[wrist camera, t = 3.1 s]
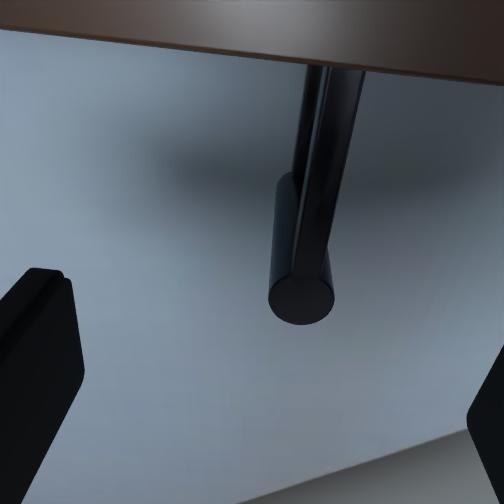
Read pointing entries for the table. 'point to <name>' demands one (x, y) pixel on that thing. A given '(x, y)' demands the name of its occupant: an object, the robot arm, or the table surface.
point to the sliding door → (312, 196)
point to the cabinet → (293, 31)
